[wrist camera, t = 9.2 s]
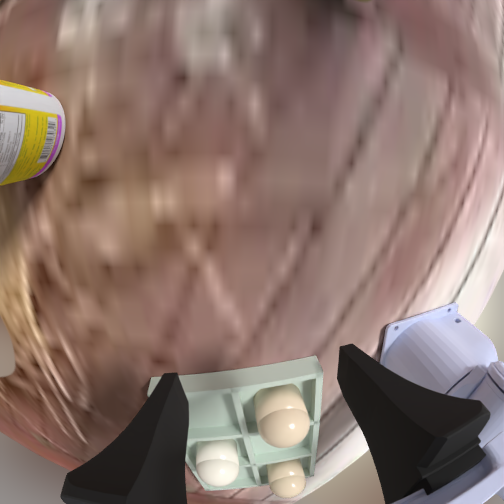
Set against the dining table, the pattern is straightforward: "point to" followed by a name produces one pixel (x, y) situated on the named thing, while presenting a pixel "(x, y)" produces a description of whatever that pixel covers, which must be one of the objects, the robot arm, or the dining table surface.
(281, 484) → the tan egg
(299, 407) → the tan egg
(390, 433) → the robot arm
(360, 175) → the dining table surface
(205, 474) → the cream egg
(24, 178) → the supplement bottle
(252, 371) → the egg tray
